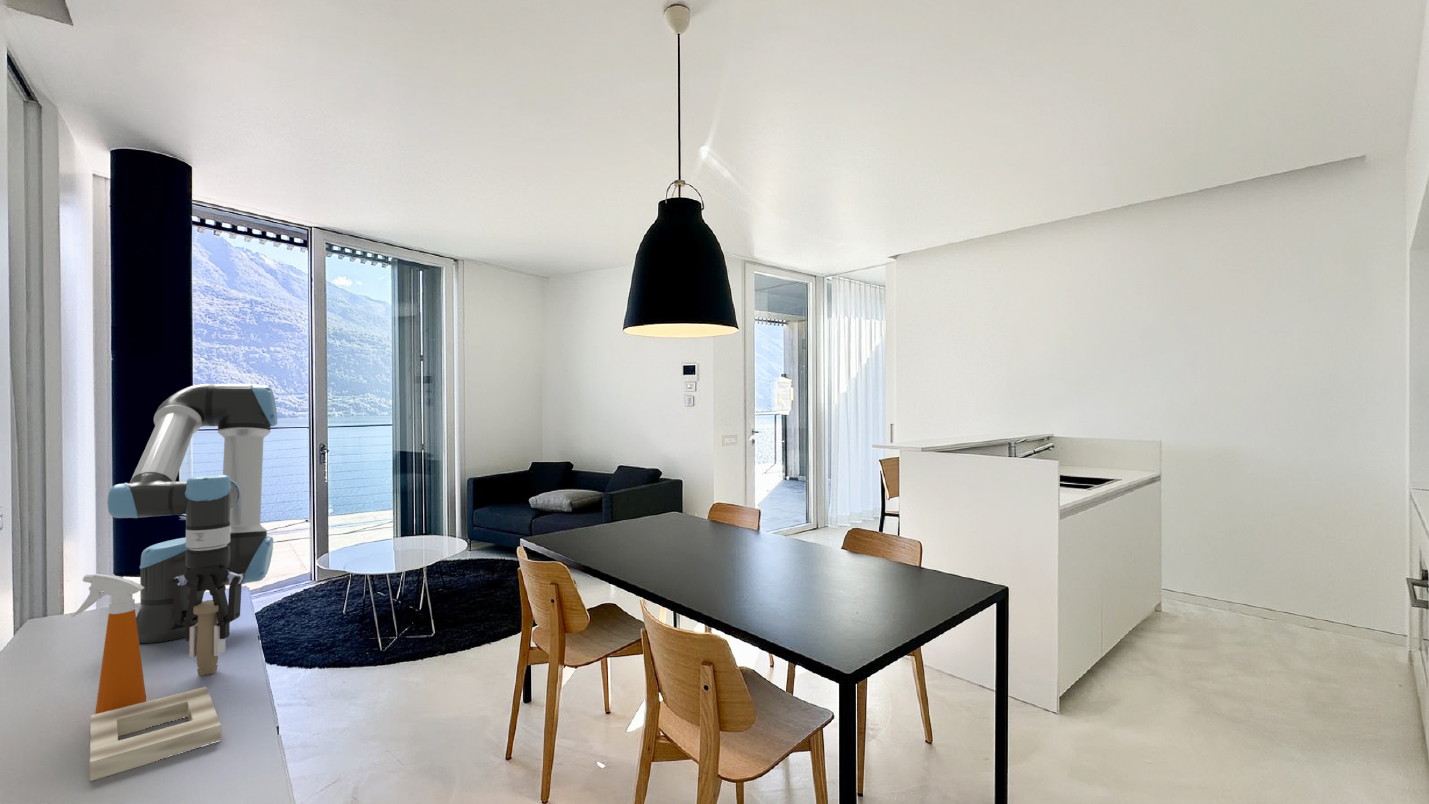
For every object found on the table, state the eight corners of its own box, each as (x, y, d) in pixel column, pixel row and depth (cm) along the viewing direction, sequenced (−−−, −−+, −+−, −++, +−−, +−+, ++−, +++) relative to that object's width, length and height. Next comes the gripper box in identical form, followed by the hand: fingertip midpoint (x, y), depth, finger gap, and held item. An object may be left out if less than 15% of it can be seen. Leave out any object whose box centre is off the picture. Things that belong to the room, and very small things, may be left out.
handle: (193, 681, 130) (193, 610, 130) (192, 671, 135) (193, 602, 135) (222, 674, 133) (222, 605, 133) (221, 665, 138) (221, 598, 138)
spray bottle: (83, 707, 119) (84, 570, 119) (153, 698, 123) (154, 565, 123) (59, 725, 112) (60, 580, 112) (135, 715, 116) (135, 575, 116)
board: (90, 732, 110) (90, 715, 110) (206, 701, 121) (206, 686, 121) (89, 781, 96) (89, 761, 96) (220, 741, 107) (220, 724, 107)
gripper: (151, 552, 129) (150, 664, 129) (241, 549, 132) (241, 658, 132) (175, 543, 136) (175, 649, 136) (261, 541, 139) (260, 645, 139)
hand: (207, 653), depth 134 cm, fingers closed on handle, 4 cm apart
